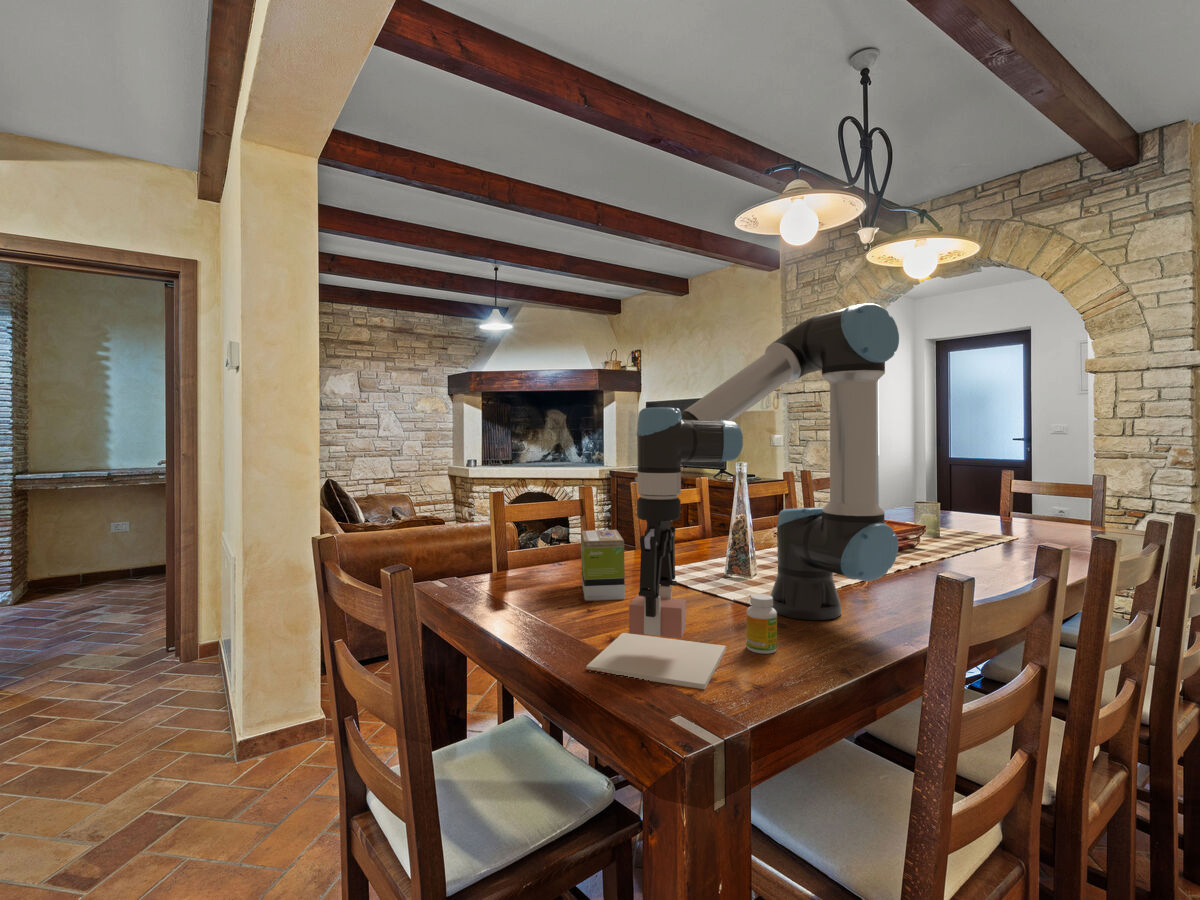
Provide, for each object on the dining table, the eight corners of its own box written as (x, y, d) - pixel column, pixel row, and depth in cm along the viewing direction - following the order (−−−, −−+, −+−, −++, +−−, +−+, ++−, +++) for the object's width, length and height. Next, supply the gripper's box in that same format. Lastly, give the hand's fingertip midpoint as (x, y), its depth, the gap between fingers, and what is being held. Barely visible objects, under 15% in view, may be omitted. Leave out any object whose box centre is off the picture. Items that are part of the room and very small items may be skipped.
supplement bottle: (772, 656, 105) (772, 602, 105) (742, 651, 108) (742, 598, 108) (780, 647, 110) (780, 595, 110) (751, 642, 113) (751, 591, 112)
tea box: (580, 585, 156) (580, 529, 156) (618, 584, 157) (618, 528, 156) (583, 601, 141) (583, 539, 141) (625, 600, 142) (625, 538, 141)
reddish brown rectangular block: (636, 623, 108) (636, 595, 108) (685, 627, 105) (685, 599, 105) (629, 633, 102) (629, 604, 102) (681, 638, 100) (681, 608, 99)
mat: (725, 650, 108) (725, 645, 108) (704, 689, 92) (705, 684, 92) (622, 636, 116) (622, 632, 116) (586, 670, 99) (586, 666, 99)
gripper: (654, 491, 113) (653, 610, 114) (619, 501, 96) (618, 643, 96) (692, 492, 111) (692, 615, 111) (664, 503, 93) (663, 649, 93)
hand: (658, 628), depth 104 cm, fingers closed on reddish brown rectangular block, 6 cm apart
